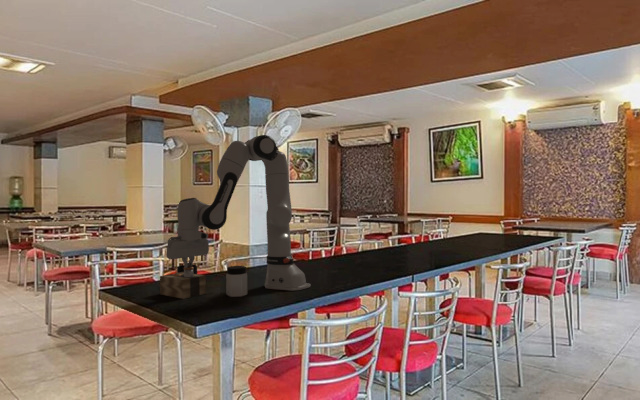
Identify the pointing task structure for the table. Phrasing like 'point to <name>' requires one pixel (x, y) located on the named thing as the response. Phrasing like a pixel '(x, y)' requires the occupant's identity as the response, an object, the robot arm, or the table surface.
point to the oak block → (182, 285)
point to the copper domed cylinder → (188, 272)
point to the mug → (181, 269)
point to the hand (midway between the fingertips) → (188, 267)
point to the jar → (236, 281)
